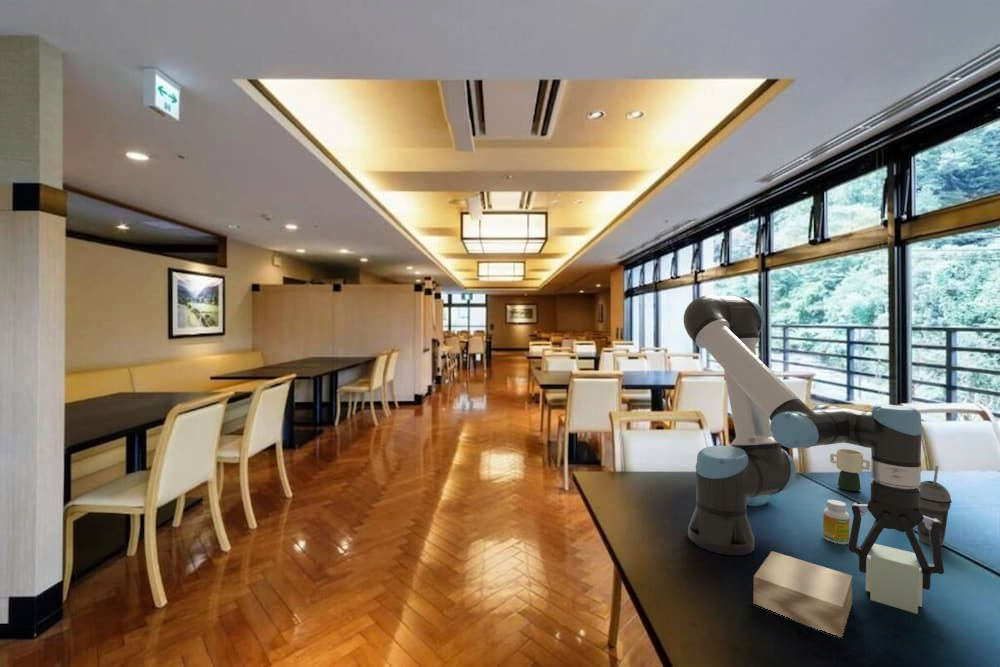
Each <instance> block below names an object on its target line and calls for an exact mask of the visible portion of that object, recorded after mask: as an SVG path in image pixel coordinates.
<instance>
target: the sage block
mask: <svg viewBox="0 0 1000 667" xmlns="http://www.w3.org/2000/svg"><path fill="white" fill-rule="evenodd" d="M870 555H871V586H870V592H869V594H870V595H869V596H870V599H869V600H870V601H873V602H876V603H880V604H883V605H886V606H890V607H893V608H895V609H896V608H897V609H901V610H902V611H903V610H904V611H907V612H910V613H913V614H915V615H916V614H919V606H918V585H919V568H920V565H919V562H918V559H917V557H916V555H915V553H914V551H913V552H912V551H908V550H904V549H899V548H896V547H895V548H894V547H891V546H886V545H883V544H879V543H876V542H875V543H874V545H873V547H872V548H871V550H870Z"/></svg>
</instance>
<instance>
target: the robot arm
mask: <svg viewBox="0 0 1000 667" xmlns="http://www.w3.org/2000/svg"><path fill="white" fill-rule="evenodd" d="M765 319H766V317H765V313H764V310H763V308H762V306H761V305H760V304H759V303H758V302H757V301H756V300H754V299H752V298H749V297H745V296H740V295H733V296H731V295H730V296H727V295H726V296H725V295H712V294H711V295H701V296H699V297H697V298H694V299H693V300H692V301H691V302H690V303H689V304H688V305H687V307H686V308H685V310H684V314H683V326H684V328H685V332H686V333H687V335H688V337H690V339H691V340H692V342H694V343H695V345H696V346H697V347H698V348H700V349H704V350H706V351H707V352H708V353H709V354H710V355H711V356H712V357H713V359H714V360H715V361H716V362H717V364H719V365H720V366H721V368H723V371H724V376H725V382H726V388H727V393H728V398H729V405H730V410H731V411H730V412H731V416H732V421H733V426H734V432H735V438H734V439H733V441H732V442H731V443H730V444H731V445H711V446H710V445H709V446H705V448H702V449H700V451H699V452H698V453H697V455H696V456H697V457H696V464H695V471H696V472H695V476H696V477H695V496H696V497H695V508H694V512H693V514H692V516H691V519H690V522H689V524H688V526H687V527H688V528H687V532H688V533H687V534H688V539H689V540H690V541H691V542H692V543H693V544H695V545H696V546H698V547H700V548H701V549H703V550H706V551H709V552H711V553H716V554H718V555H719V554H720V555H724V554H725V556H733V555H735V556H737V555H739V556H745V555H749V554H751V553H752V551H753V552H754V550H755V537H754V534H753V531H752V528H751V525H750V522H749V519H748V514H747V512H748V511H747V509H748V506H747V498H752V497H757V496H763V495H776V494H777V495H778V494H779V493H781V492H785V491H787V490H788V489H790V488H791V486H792V485H794V482H795V480H796V477H797V467H796V463H795V460H794V458H793V457H792V456H791V455H790V454H789V452H788V451H786V450H785V449H783V448H782V447H785V448H788V449H809V448H811V447H817V446H827V445H837V444H850V445H855V446H859V447H863V448H866V449H867V448H868V449H870V451H871V458H870V459H871V461H870V476H871V478H872V479H871V481H870V499H869V501H868V503H866V504H864V503H863V504H862V503H861V504H860V503H858V502H852V503H851V510H852V514H853V518H852V523H851V529H850V532H849V543H848V551H849V552H851V553H854V554H856V555H857V556H858V570H859V572H861V573H864V574H865V592H869V593H870V586H871V554H870V553H871V548H872V547H873V545H874V543H875V544H876V542H877V540H878V538H879V536H880V534H881V533H882V532H883V531H884V529H888V530H895V531H897V532H900V533H904V534H906V538H907V539H908V541H909V543H910V544H909V545H910V546H911V547H912V550H913V553H915V555H916V558H917V562H918V565H919V585H918V607H921V608H922V607H923V590H927V591H930V589H931V575H933V574H939V575H943V574H944V572H945V569H944V562H943V557H942V556H943V555H942V546H940V540H939V533H940V530H941V528H942V525H941V523H940V520H939V519H937V518H933V519H932V518H929V517H926V516H924V515H923V514H922V512H921V511H920V489H919V488H918V487H917V486H919V485H920V483H921V482H922V481H921V472H922V470H921V468H922V467H921V466H922V463H921V462H922V461H921V456H922V455H921V454H922V436H923V433H924V432H923V427H922V415H921V413H920V410H918V409H916V408H914V407H911V406H904V405H894V404H888V403H887V404H883V403H882V404H875V405H873V406H872V410H871V411H864V410H859V409H852V408H848V407H846V408H845V407H841V406H837V405H827V404H819V405H816V406H815V407H814V408H813V409H810V408H809V407H808V405H806V404H805V403H804V402H803V401H802V399H800V398H799V397H798V396H797V395H796V394H795V393H794V392H793V391H792V390H791V388H789V387H788V386H787V385H786V384H785V383H784V382H783V381H782V380H781V379H780V378H779V377H778V376H777V375H776V374H775V373H774V372H773V371H772V370H771V369H770V368H769V367H768V366H767V365H766V364H765V363H764V362H763V361H762V360H761V359H760V358H759V357H758V356H757V352H756V345H757V344H758V343H759V342H760V336H759V334H760V333H761V331H762V330H763V327H764V326H765V321H766V320H765ZM770 421H771V422H770ZM866 512H869V513H870V514H871V515H872V517H873V518H874V519H875V520H874V522H873V524H872V526H871V528H870V530H869V531H868V534H866V536H865V538H864V541H863V542H862V544H861V545H858V540H859V533H860V528H861V523H862V517H863V516H866ZM921 521H922V522H924V523H925V526H926V528H927V529H929V536H930V543H931V545H930V549H931V556H932V561H933V563H929V562H928V560H927V558H926V556H925V555H926V554H925V553H924V551H923V549H922V546H921V544H920V542H919V539H918V538H917V535H916V533H915V530H914V528H915V527H917V525H918V524H919V523H920V522H921ZM735 556H734V557H735Z"/></svg>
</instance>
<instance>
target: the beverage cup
mask: <svg viewBox="0 0 1000 667" xmlns="http://www.w3.org/2000/svg"><path fill="white" fill-rule="evenodd" d="M938 472H939V466H938V465H935V469H934V475H933V481H932V480H924V481H921V483H920V485H919V486H917V487H918V488H919V489H920V511H921V512H922V514H923V515H924V516H926V517H929V518H932V519H933V518H937V519H939V520H940V523H941V525H942V528H941V530H940V533H939V540H940V547H943V546H944V542H945V541H944V540H945V536H946V532H947V531H946V530H947V529H946V528H947V523H948V522H947V521H948V515H949V510H950V508H951V504H952V498H951V497H952V496H951V493H950V492H949V490H948V489H947V488H946V487H945V486H944V485H942V484H941V483H939V482H937V479H938V475H939V474H938ZM916 527H917V528H916V529H917V536H918V542H919V541H920V542H921V543H922V544H925V545H928V546H931V543H930V536H929V529H927V528H926V526H925V523H924V522H922V521H921V522H920V523H919V524H918V525H916Z"/></svg>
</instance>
